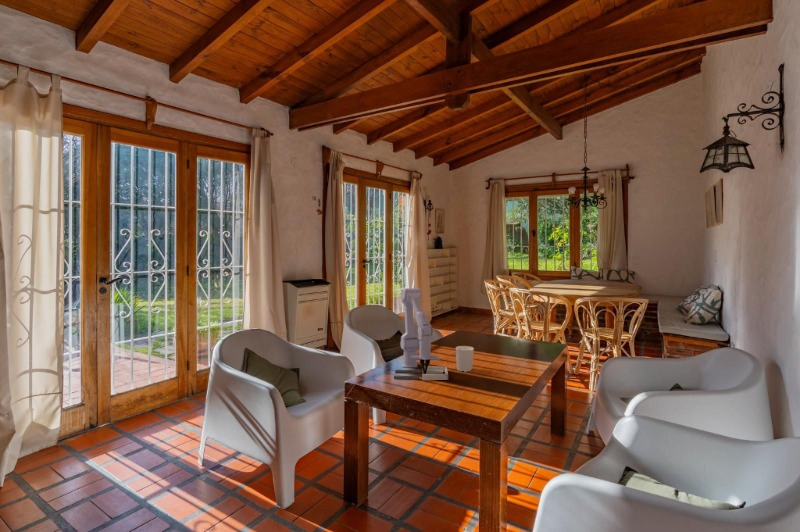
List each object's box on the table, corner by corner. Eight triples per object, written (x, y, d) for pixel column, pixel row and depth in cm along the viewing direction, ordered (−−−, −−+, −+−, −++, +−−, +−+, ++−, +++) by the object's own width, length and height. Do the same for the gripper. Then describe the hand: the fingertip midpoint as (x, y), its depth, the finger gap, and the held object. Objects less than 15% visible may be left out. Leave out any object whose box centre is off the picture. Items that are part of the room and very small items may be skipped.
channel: (395, 371, 230) (395, 369, 230) (419, 372, 229) (419, 370, 229) (393, 379, 218) (393, 376, 218) (419, 379, 218) (419, 377, 217)
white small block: (427, 374, 225) (427, 369, 225) (434, 375, 225) (434, 369, 225) (427, 377, 221) (427, 371, 221) (434, 377, 221) (434, 371, 221)
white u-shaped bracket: (422, 371, 230) (422, 366, 230) (446, 372, 230) (446, 366, 230) (422, 380, 216) (422, 374, 216) (448, 380, 216) (448, 375, 216)
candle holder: (452, 368, 237) (452, 346, 236) (467, 366, 240) (468, 345, 240) (460, 373, 228) (461, 351, 227) (476, 371, 231) (477, 349, 231)
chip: (434, 375, 225) (434, 369, 225) (442, 375, 224) (442, 369, 224) (434, 377, 221) (434, 372, 221) (442, 377, 221) (442, 372, 220)
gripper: (410, 349, 219) (410, 375, 220) (439, 350, 218) (439, 376, 219) (411, 346, 226) (411, 371, 227) (438, 346, 225) (438, 372, 226)
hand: (424, 373), depth 223 cm, fingers closed
